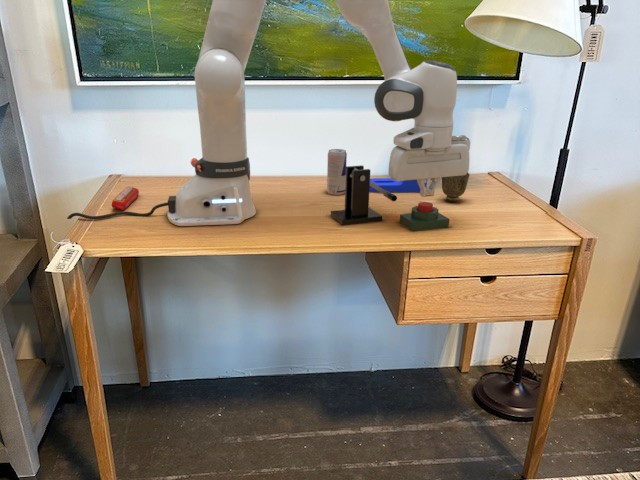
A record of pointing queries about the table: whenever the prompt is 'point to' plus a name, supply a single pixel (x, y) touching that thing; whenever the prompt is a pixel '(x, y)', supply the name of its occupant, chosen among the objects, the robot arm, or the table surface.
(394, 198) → the lever
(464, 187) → the cup
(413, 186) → the bracket
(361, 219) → the bracket
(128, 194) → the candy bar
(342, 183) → the energy drink
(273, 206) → the table surface
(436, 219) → the button block
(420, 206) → the button
